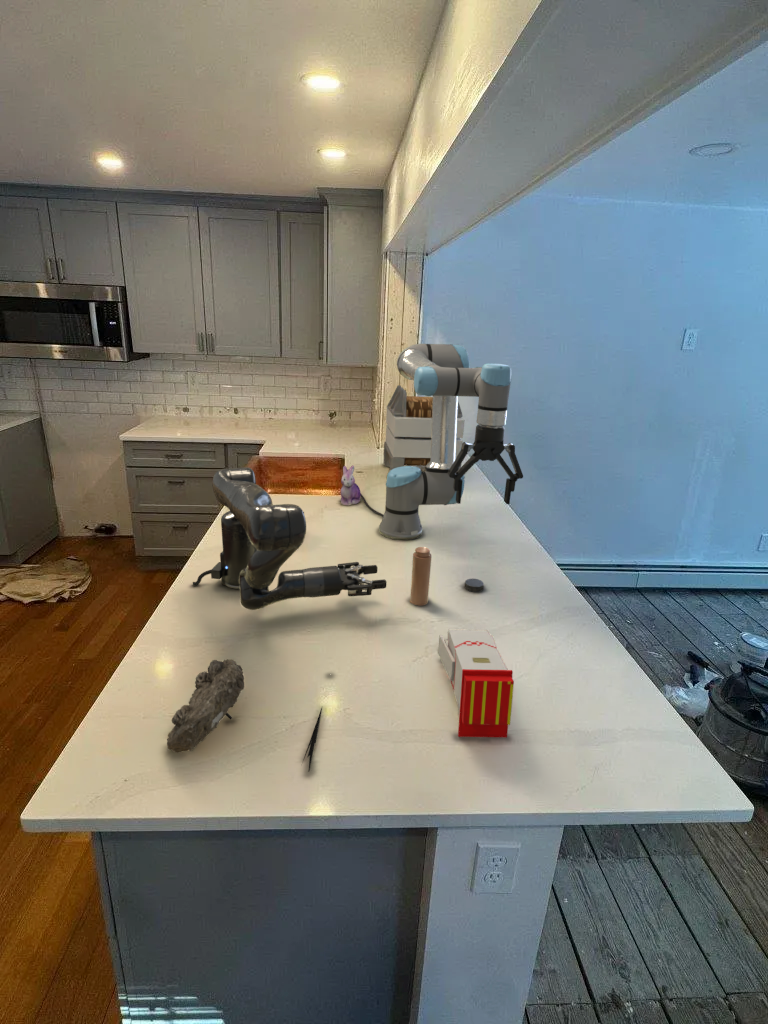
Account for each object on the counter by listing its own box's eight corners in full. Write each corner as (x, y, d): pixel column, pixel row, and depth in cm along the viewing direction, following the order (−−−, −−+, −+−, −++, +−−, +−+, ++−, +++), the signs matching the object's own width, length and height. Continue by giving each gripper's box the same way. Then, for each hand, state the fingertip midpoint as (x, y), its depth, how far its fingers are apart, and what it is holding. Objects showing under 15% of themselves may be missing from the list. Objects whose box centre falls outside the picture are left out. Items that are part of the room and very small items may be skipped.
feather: (331, 679, 122) (336, 673, 122) (307, 777, 96) (313, 769, 95) (324, 675, 122) (329, 669, 121) (298, 772, 95) (304, 764, 95)
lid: (469, 593, 160) (469, 587, 160) (461, 584, 165) (461, 579, 165) (486, 591, 162) (487, 586, 161) (478, 582, 167) (478, 577, 166)
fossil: (192, 660, 117) (244, 628, 112) (224, 691, 120) (276, 661, 115) (142, 746, 98) (202, 712, 93) (182, 779, 101) (242, 748, 96)
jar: (418, 595, 158) (422, 544, 153) (431, 602, 154) (435, 550, 149) (406, 600, 155) (409, 548, 149) (419, 607, 151) (422, 555, 146)
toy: (488, 613, 130) (523, 677, 101) (484, 667, 133) (517, 744, 104) (435, 612, 130) (455, 676, 101) (432, 666, 133) (451, 743, 103)
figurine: (344, 507, 223) (345, 470, 218) (334, 499, 232) (334, 463, 227) (366, 504, 228) (367, 468, 223) (355, 496, 236) (356, 461, 231)
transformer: (382, 463, 289) (386, 382, 275) (445, 464, 293) (451, 384, 279) (390, 482, 257) (394, 392, 243) (460, 483, 261) (468, 394, 247)
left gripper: (325, 581, 136) (390, 575, 141) (315, 556, 149) (374, 551, 154) (325, 608, 139) (388, 602, 144) (315, 582, 152) (373, 576, 156)
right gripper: (532, 423, 153) (522, 498, 160) (440, 421, 150) (435, 497, 157) (541, 429, 146) (531, 507, 153) (446, 427, 143) (440, 506, 150)
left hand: (381, 576), depth 149 cm, fingers open, 8 cm apart
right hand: (482, 502), depth 155 cm, fingers open, 13 cm apart
